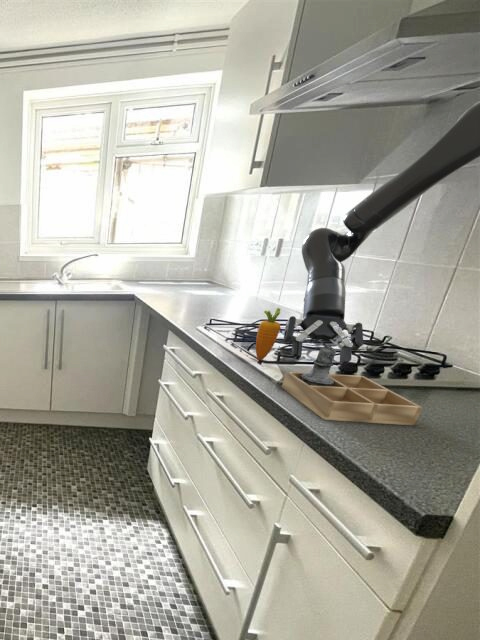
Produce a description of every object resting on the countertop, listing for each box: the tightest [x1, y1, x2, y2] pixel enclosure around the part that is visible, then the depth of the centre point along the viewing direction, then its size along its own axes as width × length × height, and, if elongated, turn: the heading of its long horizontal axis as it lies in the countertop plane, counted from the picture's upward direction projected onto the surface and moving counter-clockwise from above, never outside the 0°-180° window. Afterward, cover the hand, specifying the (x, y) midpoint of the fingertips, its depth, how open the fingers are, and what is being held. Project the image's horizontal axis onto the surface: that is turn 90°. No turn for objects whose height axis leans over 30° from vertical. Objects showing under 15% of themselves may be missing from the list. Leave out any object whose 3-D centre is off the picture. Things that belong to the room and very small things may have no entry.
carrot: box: [255, 307, 281, 362], centre depth 115 cm, size 5×5×15 cm
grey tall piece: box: [302, 342, 337, 386], centre depth 94 cm, size 6×6×12 cm
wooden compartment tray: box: [281, 371, 424, 426], centre depth 92 cm, size 16×16×4 cm
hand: (320, 361), depth 95 cm, fingers open, 8 cm apart
